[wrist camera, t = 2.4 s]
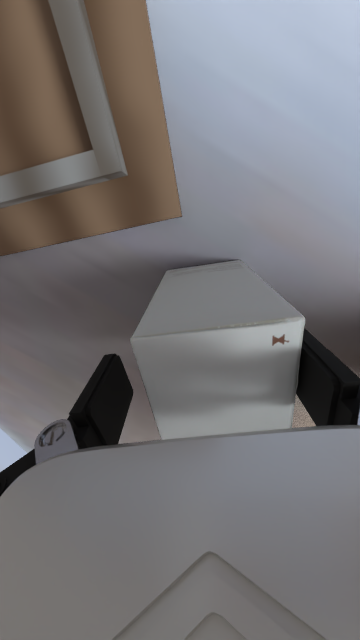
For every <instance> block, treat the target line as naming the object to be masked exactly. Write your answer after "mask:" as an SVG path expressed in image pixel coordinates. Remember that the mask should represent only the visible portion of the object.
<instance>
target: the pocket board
mask: <svg viewBox="0 0 360 640" xmlns="http://www.w3.org/2000/svg"><path fill="white" fill-rule="evenodd" d="M177 217H182V213H181V207H180V201H179V195H178V189H177V183H176V177H175V171H174V166H173V160H172V154H171V148H170V142H169V136H168V130H167V124H166V118H165V112H164V106H163V100H162V94H161V88H160V82H159V76H158V70H157V65H156V59H155V53H154V47H153V41H152V35H151V29H150V23H149V17H148V11H147V5H146V0H0V256H4V255H9V254H13V253H18V252H22V251H27V250H31V249H36V248H41V247H45V246H50V245H54V244H59V243H63V242H68V241H72V240H77V239H82V238H86V237H91V236H95V235H100V234H104V233H109V232H113V231H118V230H122V229H127V228H132V227H136V226H141V225H145V224H150V223H154V222H159V221H163V220H168V219H172V218H177Z"/></svg>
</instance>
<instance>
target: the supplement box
mask: <svg viewBox="0 0 360 640" xmlns="http://www.w3.org/2000/svg"><path fill="white" fill-rule="evenodd" d="M304 326H305V317H304V316H303V315H302V314H301V313H299V312H298V311H297V310H296V309H295V308H294V307H293V306H292V305H291V304H289V303H288V302H287V301H286V300H285V299H284V298H283V297H282V296H281V295H279V294H278V293H277V292H276V291H275V290H274V289H273V288H271V287H270V286H269V285H268V284H267V283H266V282H265V281H264V280H262V279H261V278H260V277H259V276H258V275H257V274H256V273H255V272H253V271H252V270H251V269H250V268H249V267H248V266H247V265H246V264H244V263H243V262H242V261H241V260H235V261H228V262H221V263H215V264H208V265H201V266H194V267H187V268H180V269H173V270H167V271H166V272H165V274H164V276H163V278H162V280H161V282H160V284H159V286H158V288H157V290H156V292H155V294H154V296H153V298H152V299H151V301H150V303H149V305H148V307H147V309H146V311H145V313H144V315H143V317H142V319H141V321H140V323H139V324H138V326H137V328H136V330H135V332H134V334H133V336H132V337H131V339H130V342H131V346H132V349H133V352H134V355H135V358H136V361H137V365H138V368H139V371H140V374H141V377H142V381H143V384H144V387H145V390H146V393H147V396H148V399H149V403H150V406H151V409H152V412H153V415H154V418H155V421H156V424H157V428H158V431H159V434H160V437H161V440H165V439H175V438H186V437H196V436H207V435H218V434H229V433H240V432H252V431H263V430H275V429H287V428H292V421H293V412H294V404H295V396H296V389H297V384H298V371H299V363H300V355H301V347H302V339H303V331H304Z"/></svg>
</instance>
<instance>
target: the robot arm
mask: <svg viewBox="0 0 360 640" xmlns="http://www.w3.org/2000/svg"><path fill="white" fill-rule="evenodd" d="M296 394H297V396H298V397H299V399H300V400H301V402H302V404H303V405H304V407H305V408H306V410H307V412H308V413H309V415H310V416H311V418H312V420H313V421H314V423H315V424H316V426H314V427H300V428H287V429H275V430H263V431H252V432H240V433H229V434H218V435H207V436H196V437H186V438H175V439H165V440H155V441H144V442H134V443H124V444H118V442H119V439H120V435H121V432H122V429H123V426H124V422H125V419H126V416H127V413H128V409H129V406H130V403H131V400H132V396H133V389H132V386H131V384H130V381H129V379H128V376H127V374H126V371H125V369H124V366H123V364H122V361H121V359H120V356H117V355H116V354H108V355H105V356H104V357H103V358H102V360H101V362H100V363H99V365H98V367H97V368H96V370H95V372H94V373H93V375H92V377H91V378H90V380H89V382H88V383H87V385H86V386H85V388H84V390H83V391H82V393H81V395H80V396H79V398H78V400H77V401H76V403H75V405H74V406H73V408H72V409H71V411H70V413H69V415H70V416H69V417H68V419H67V420H66V419H61V420H57V421H55V422H53V423H51V424H50V425H48V426H47V427H45V428H44V429H43V430H42V431H41V432H40V434H39V435H38V436H37V438H36V440H35V445H34V446H35V449H33V450H32V451H30V452H29V453H27V454H26V455H25V456H23V457H22V458H20V459H19V460H17V461H16V462H15V463H13V464H12V465H10V466H9V467H7V468H6V469H5V470H3V471H2V472H0V640H360V378H359V377H358V376H357V375H356V374H354V373H353V372H352V371H351V370H350V369H349V368H348V367H347V366H346V365H345V364H344V363H342V362H341V361H340V360H339V359H338V358H337V357H336V356H335V355H334V354H333V353H332V352H331V351H329V350H328V349H326V348H325V347H324V346H323V345H322V344H321V343H320V342H319V341H318V340H317V339H316V338H314V337H313V336H312V335H311V334H310V333H309V332H308V331H307V330H306V329H305V328H304V331H303V339H302V347H301V355H300V363H299V371H298V384H297V389H296Z"/></svg>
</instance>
